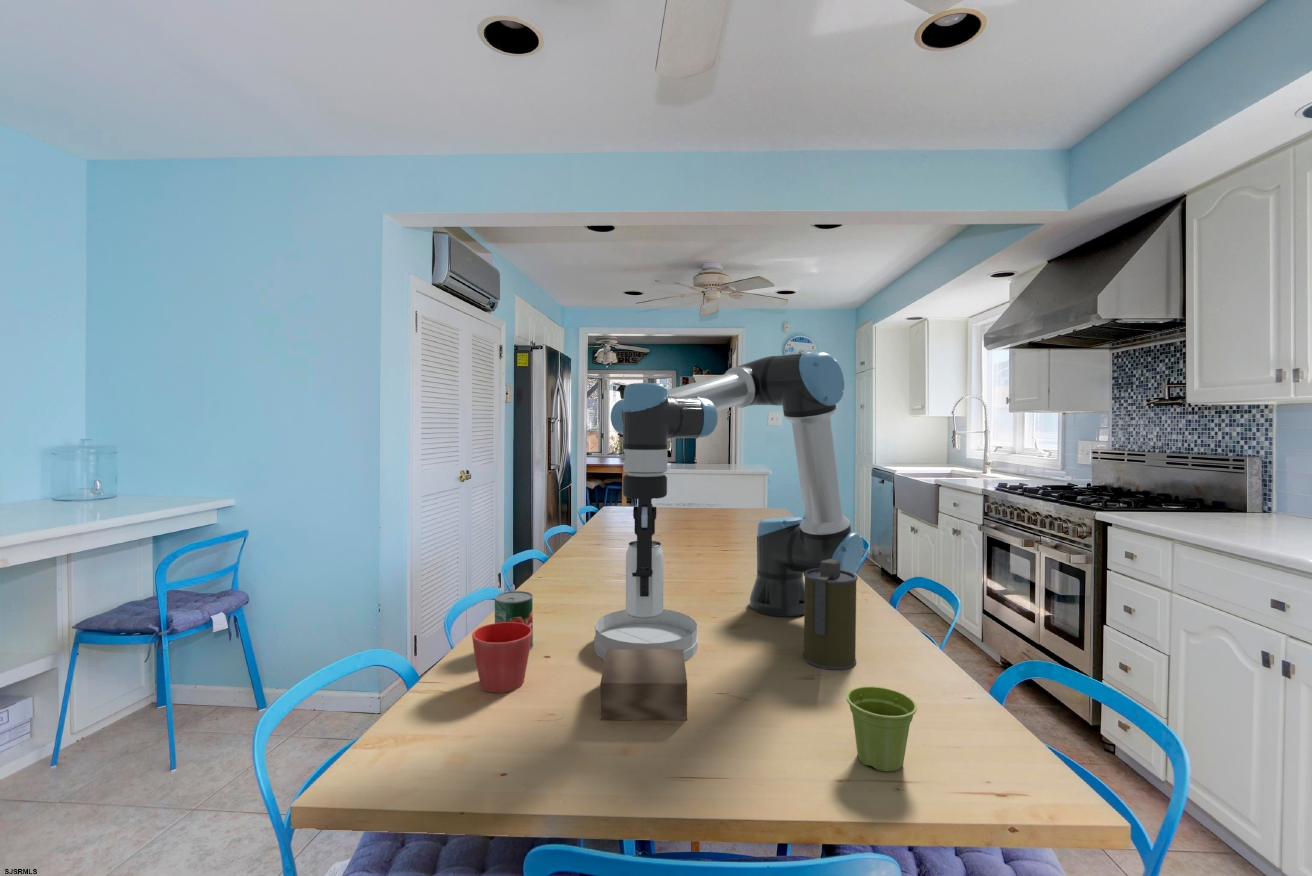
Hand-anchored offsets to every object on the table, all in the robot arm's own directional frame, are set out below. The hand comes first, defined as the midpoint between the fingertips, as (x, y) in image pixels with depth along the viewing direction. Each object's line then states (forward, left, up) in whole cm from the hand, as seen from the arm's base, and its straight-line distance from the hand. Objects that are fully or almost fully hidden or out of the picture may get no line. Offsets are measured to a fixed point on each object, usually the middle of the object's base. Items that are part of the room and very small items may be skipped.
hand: (644, 607), depth 102 cm
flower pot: (+26, -6, -16) cm, 31 cm away
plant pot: (-34, +18, -16) cm, 42 cm away
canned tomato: (+28, -23, -16) cm, 40 cm away
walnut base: (0, 0, -16) cm, 16 cm away
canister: (-37, -17, -16) cm, 44 cm away
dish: (0, -24, -17) cm, 29 cm away
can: (0, 0, -1) cm, 1 cm away
